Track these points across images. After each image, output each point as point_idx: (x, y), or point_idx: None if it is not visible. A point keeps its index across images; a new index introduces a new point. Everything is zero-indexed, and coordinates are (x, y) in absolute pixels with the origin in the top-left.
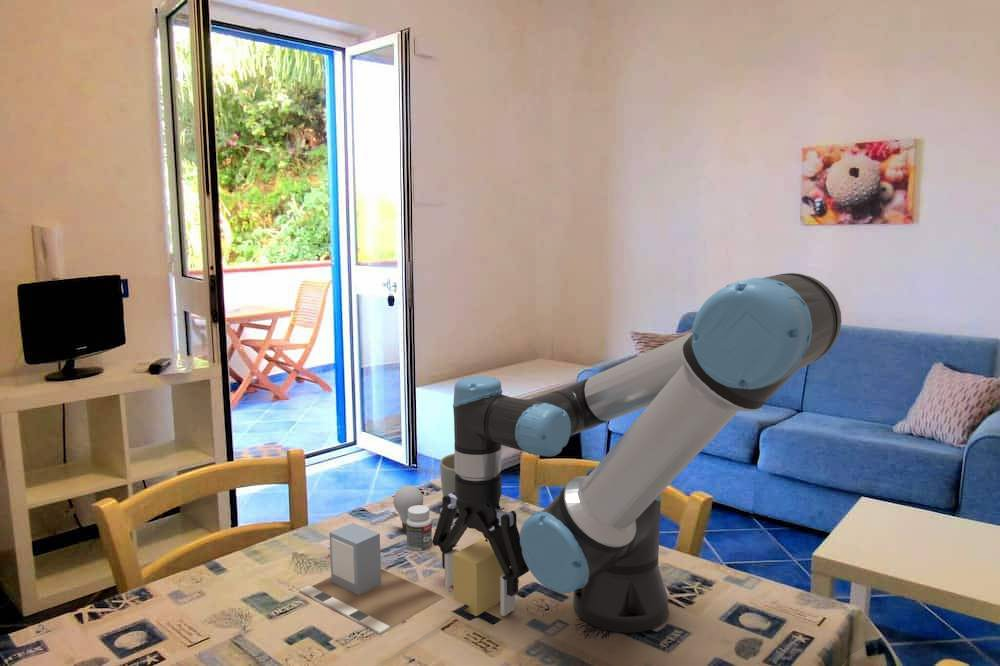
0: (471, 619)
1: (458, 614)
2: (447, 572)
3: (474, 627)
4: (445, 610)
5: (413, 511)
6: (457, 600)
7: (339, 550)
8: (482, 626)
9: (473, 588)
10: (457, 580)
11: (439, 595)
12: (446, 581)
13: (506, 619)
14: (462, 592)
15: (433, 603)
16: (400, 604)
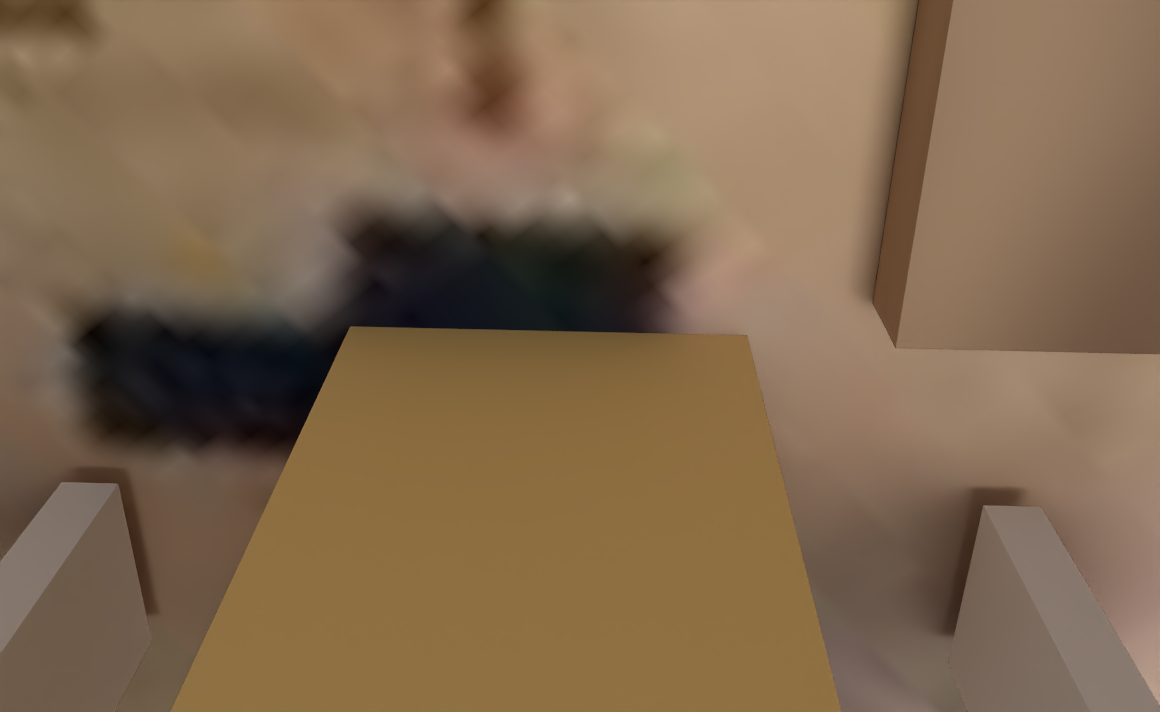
0: (344, 235)
1: (558, 224)
2: (1094, 698)
3: (172, 117)
4: (766, 194)
5: None
6: (684, 382)
7: None
8: (120, 197)
9: (318, 550)
10: (702, 575)
11: (988, 336)
12: (1061, 591)
13: (50, 467)
14: (583, 464)
15: (934, 121)
16: None
